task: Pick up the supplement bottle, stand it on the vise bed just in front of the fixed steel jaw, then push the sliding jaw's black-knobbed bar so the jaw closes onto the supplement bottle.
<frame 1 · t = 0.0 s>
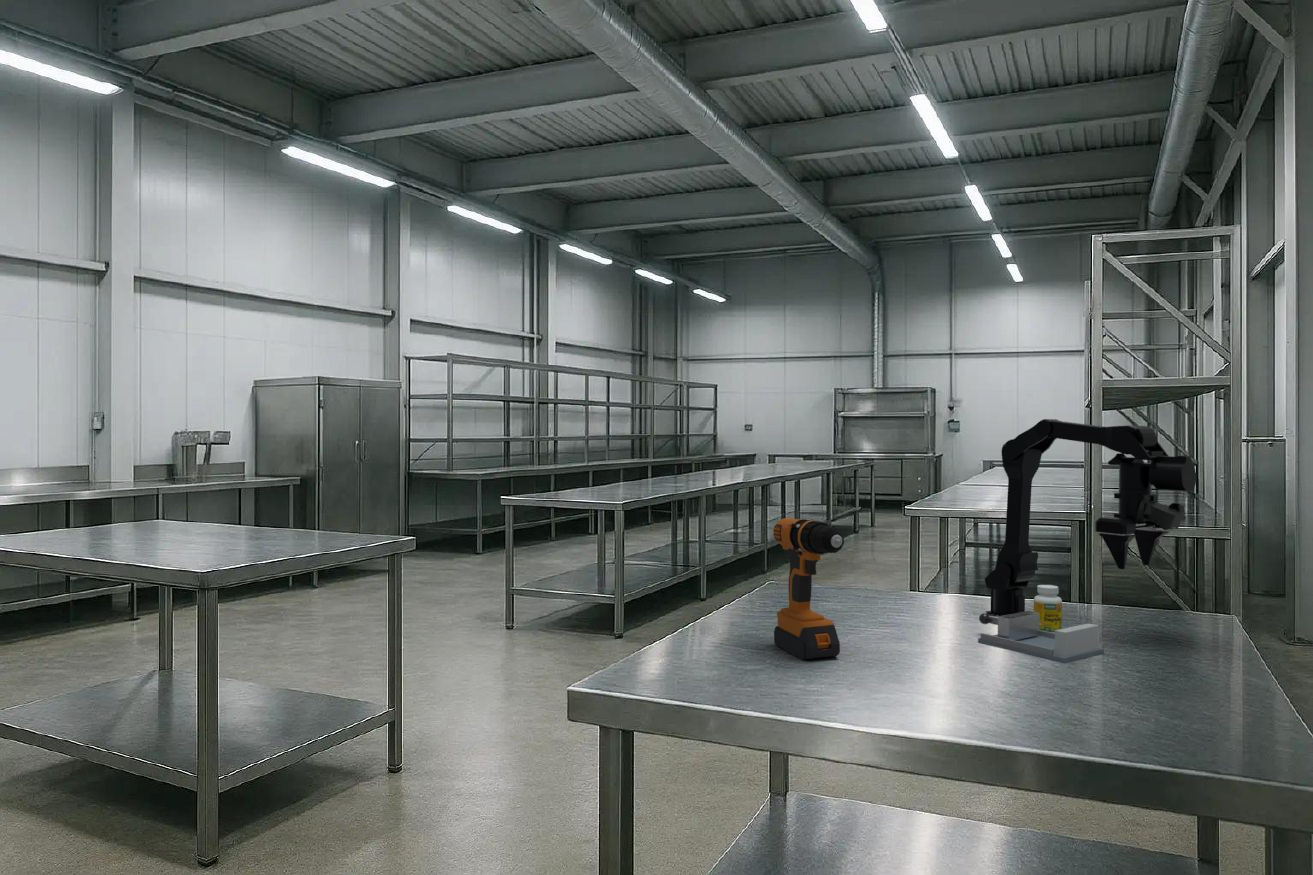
hand: (1134, 567, 175), 15 cm above the table, fingers open, 9 cm apart
vise base: (1039, 647, 169), on the table
sliding jaw: (1001, 622, 176), point 3 cm above the table, slide at 0.0 cm
supplement bottle: (1047, 633, 182), on the table
power drill: (812, 655, 163), on the table
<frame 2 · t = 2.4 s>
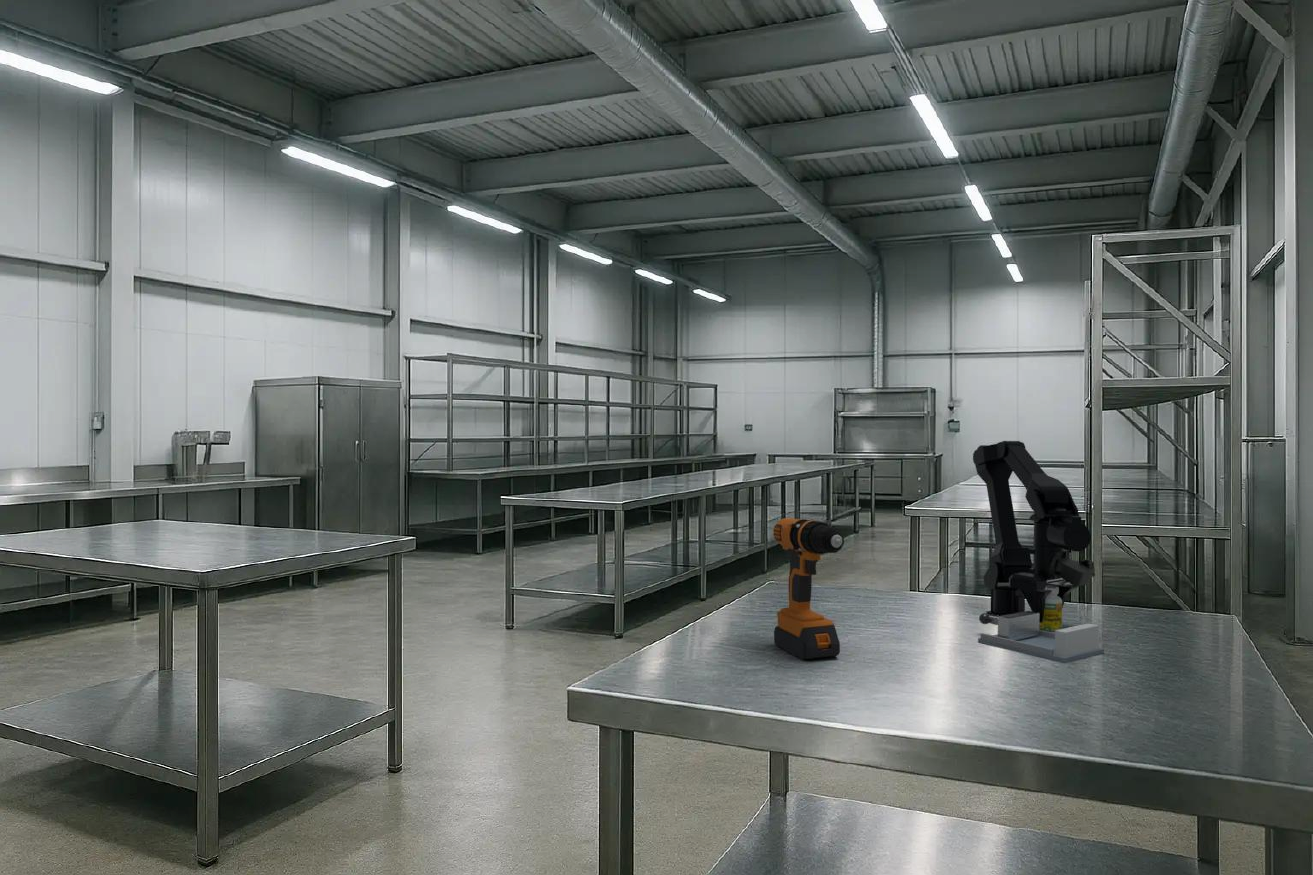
hand: (1047, 620, 182), 3 cm above the table, fingers closed on supplement bottle, 5 cm apart
supplement bottle: (1047, 633, 182), on the table, touching gripper
everything else where it was.
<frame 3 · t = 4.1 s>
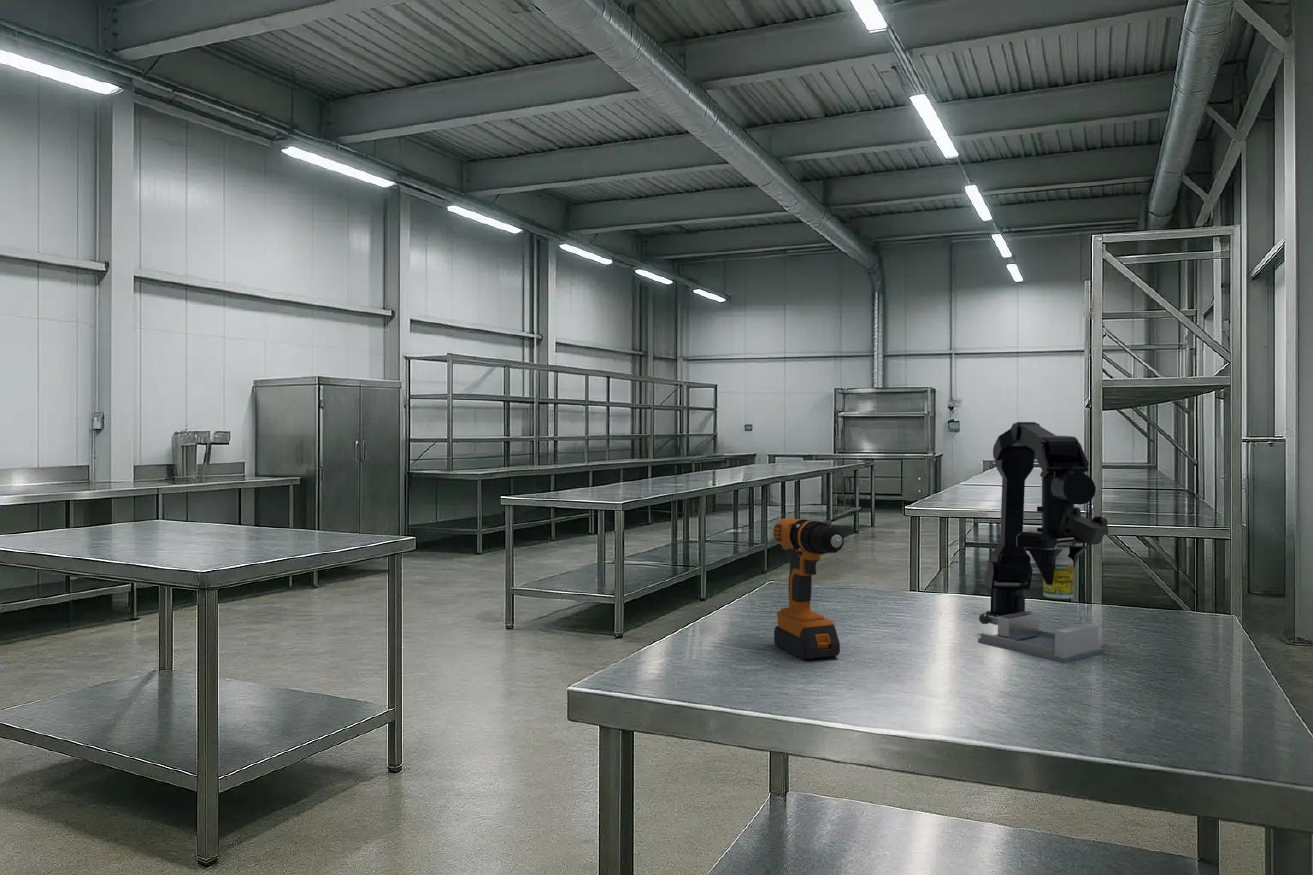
hand: (1057, 583, 169), 12 cm above the table, fingers closed on supplement bottle, 5 cm apart
supplement bottle: (1058, 597, 169), point 10 cm above the table, touching gripper
everything else where it was.
when the fingers open (4 cm above the table, at t = 6.0 s): supplement bottle drops 1 cm, resting on vise base.
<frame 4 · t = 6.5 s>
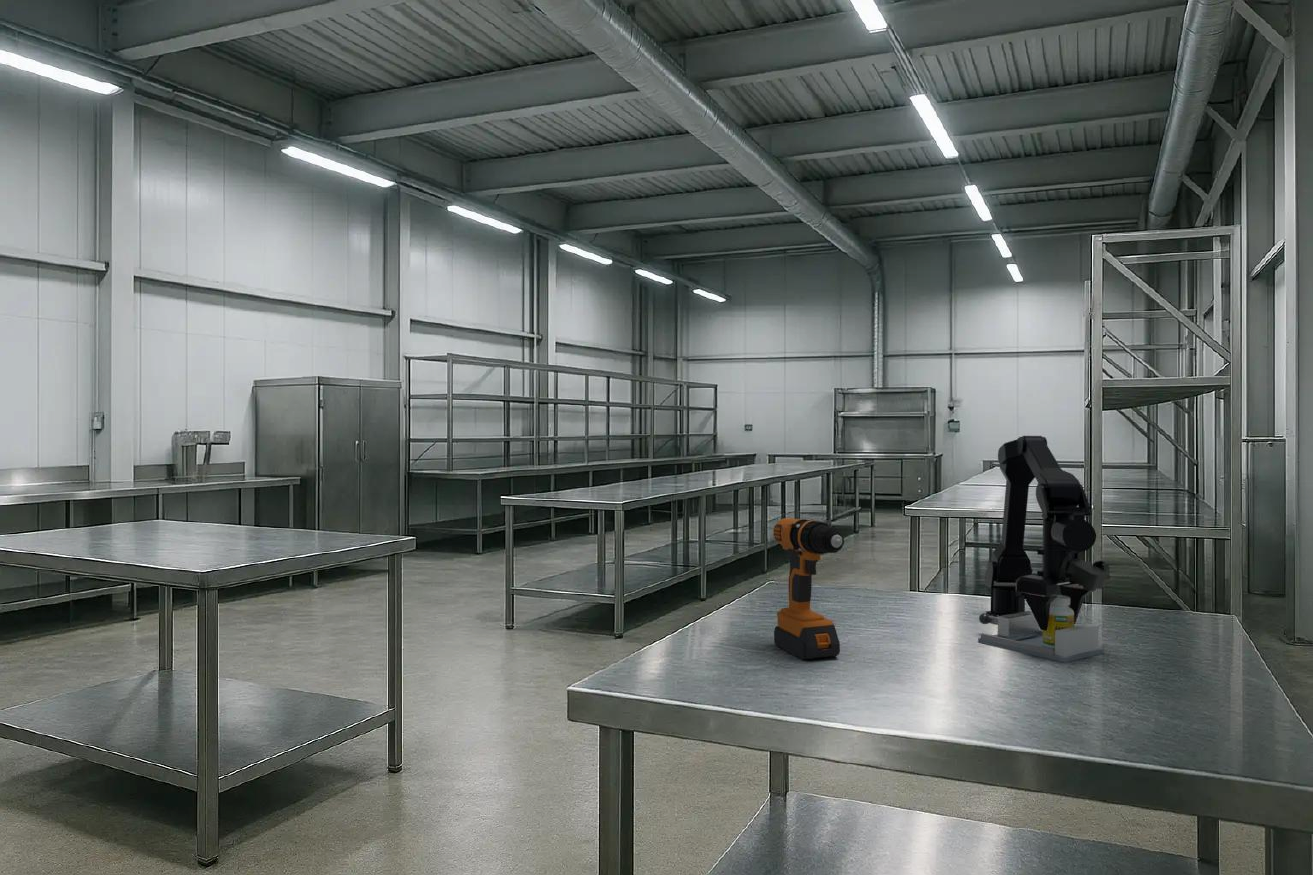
hand: (1057, 627, 166), 5 cm above the table, fingers open, 9 cm apart
supplement bottle: (1057, 648, 166), point 1 cm above the table, touching vise base
everything else where it was.
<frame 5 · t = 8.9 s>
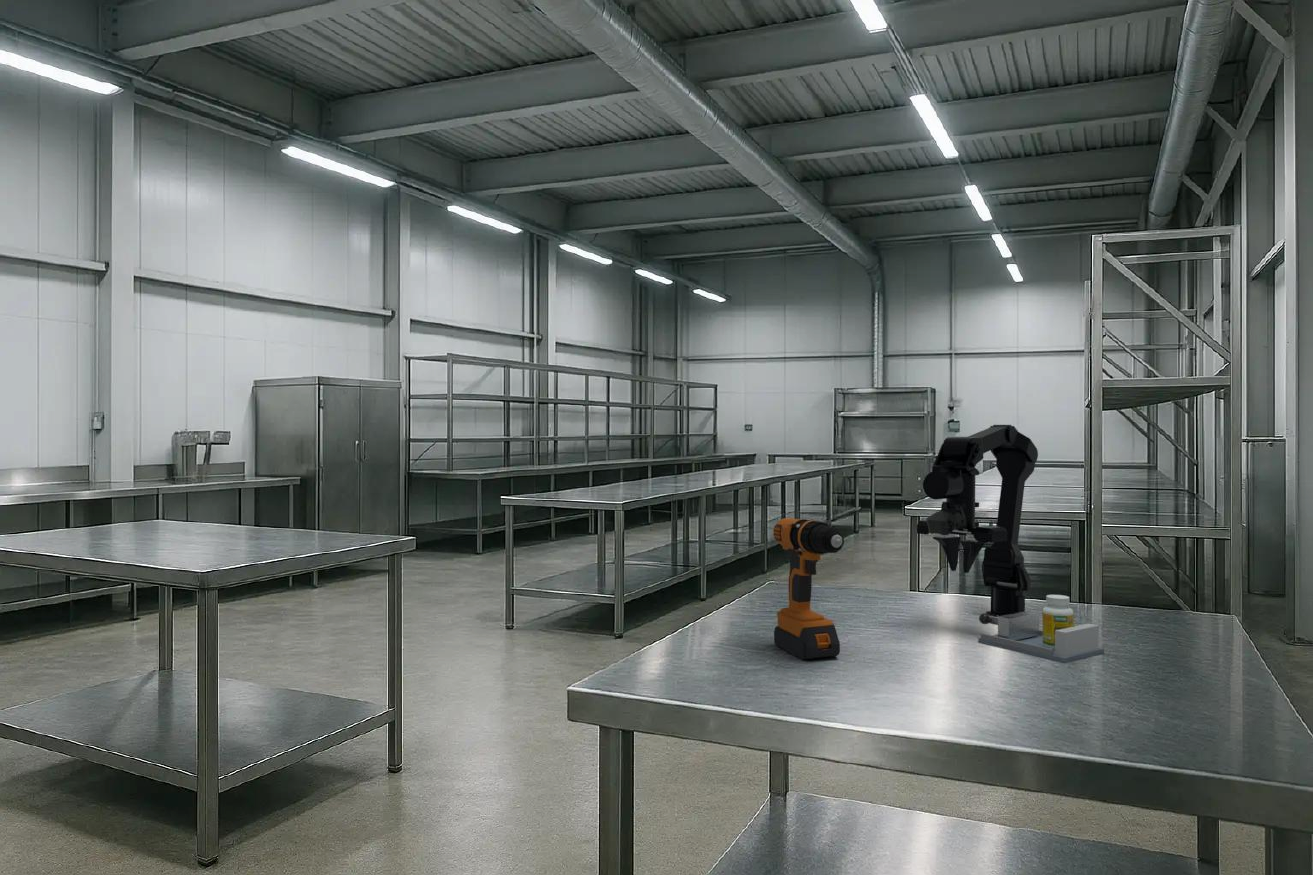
hand: (959, 571, 184), 12 cm above the table, fingers open, 3 cm apart
nothing on the table moved.
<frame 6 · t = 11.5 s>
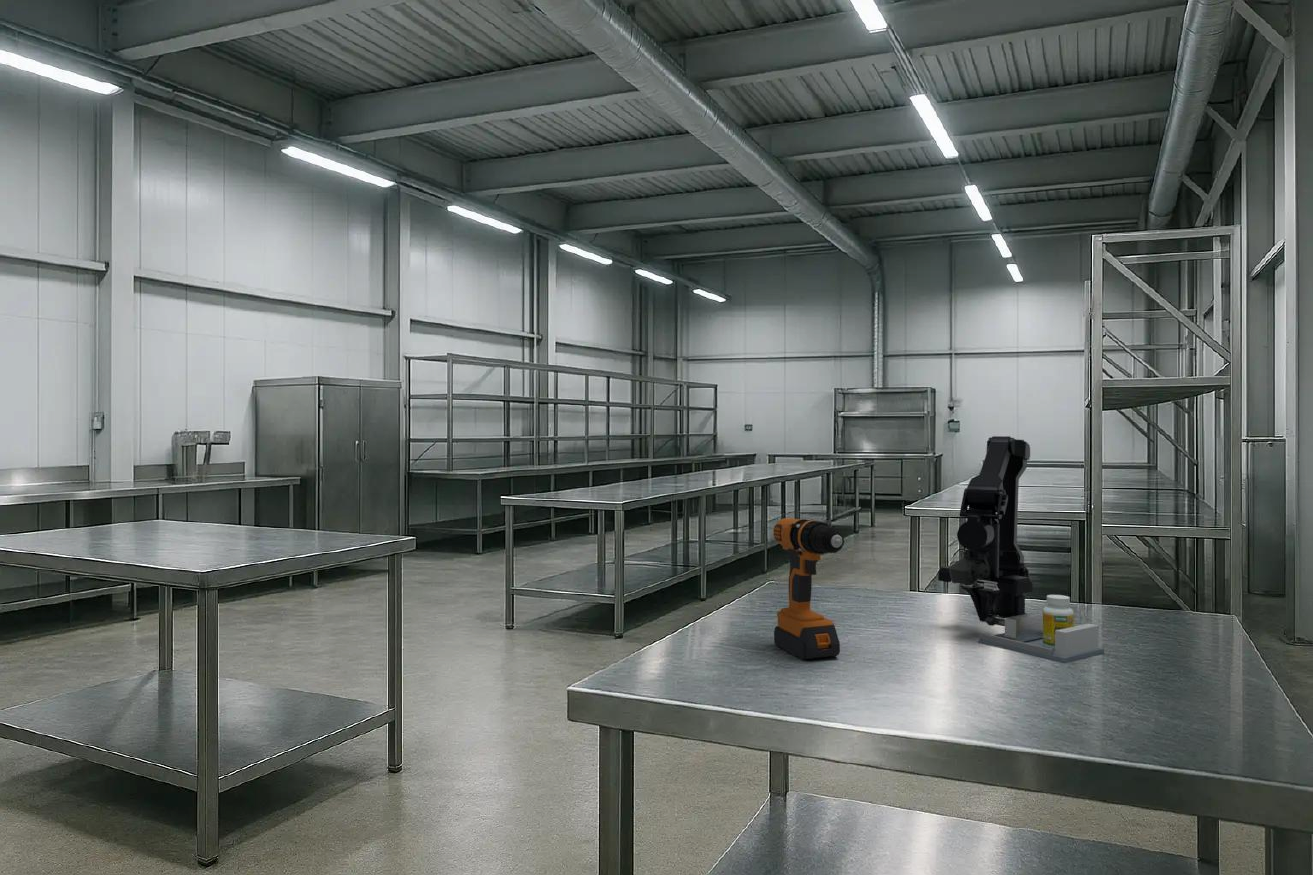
hand: (983, 621, 180), 3 cm above the table, fingers closed
sliding jaw: (1008, 623, 175), point 3 cm above the table, slide at 1.5 cm, touching gripper
everything else where it was.
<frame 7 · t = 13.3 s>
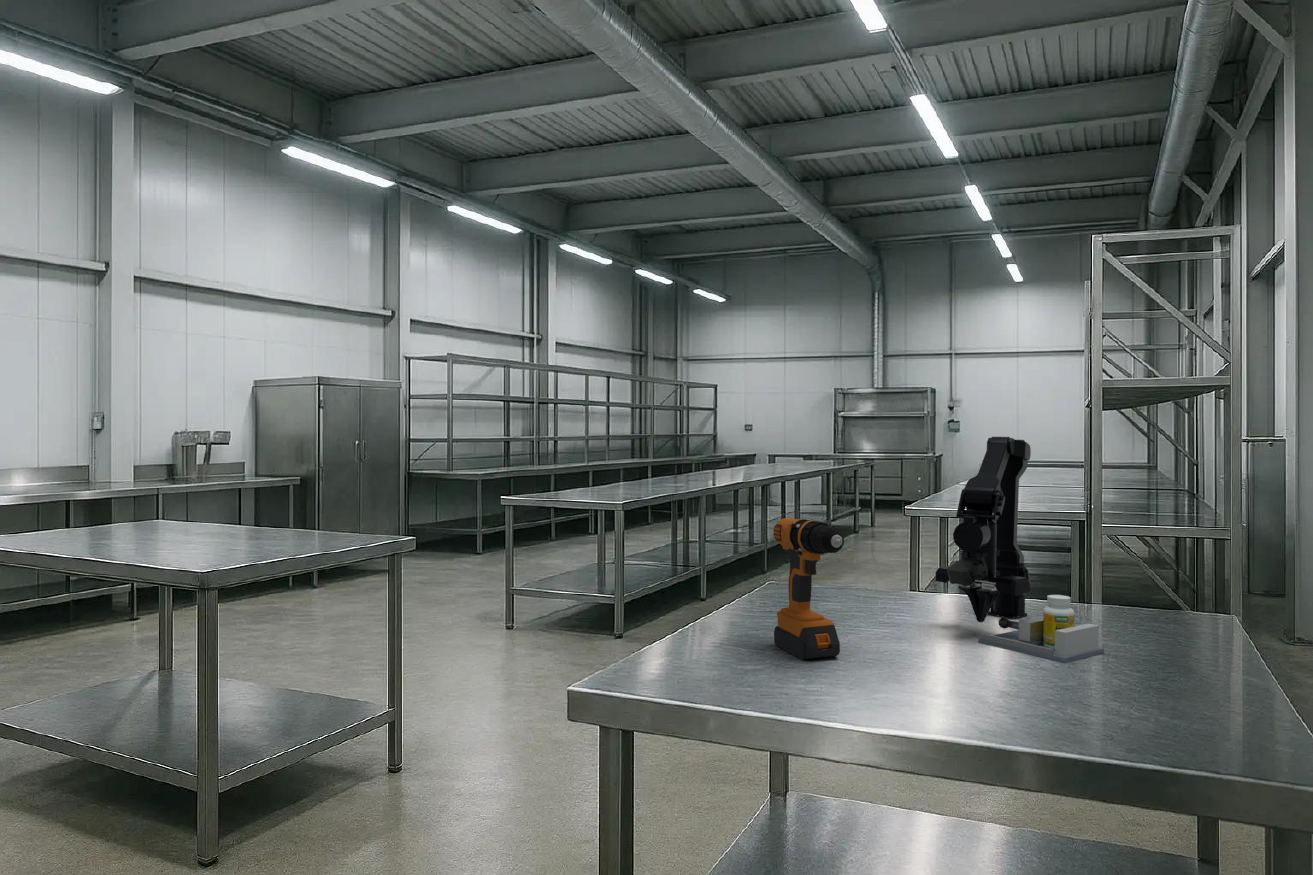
hand: (980, 621, 180), 2 cm above the table, fingers closed
sliding jaw: (1021, 626, 173), point 3 cm above the table, slide at 4.5 cm, touching supplement bottle
supplement bottle: (1058, 648, 166), point 1 cm above the table, touching sliding jaw, vise base
everything else where it was.
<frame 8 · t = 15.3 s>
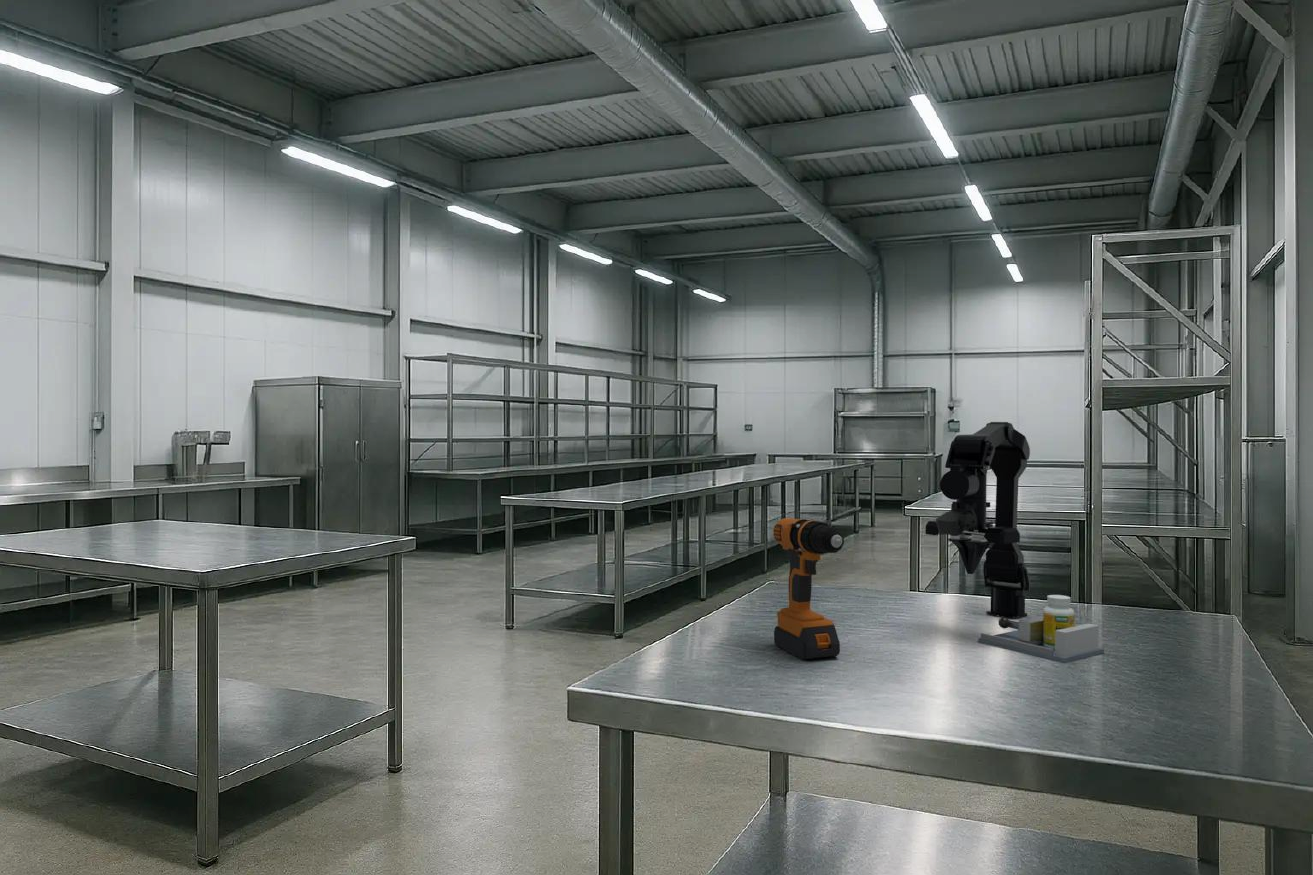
hand: (970, 573, 179), 12 cm above the table, fingers closed
nothing on the table moved.
at the end: supplement bottle 0.2 cm from the target spot on the vise base, point 0.6 cm above the vise base's base; supplement bottle tilted 0°; sliding jaw slide at 4.5 cm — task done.
